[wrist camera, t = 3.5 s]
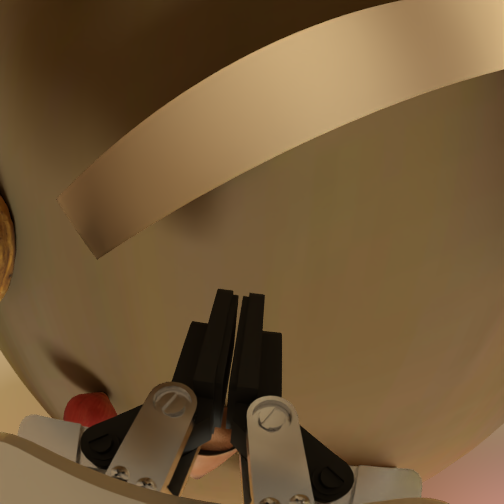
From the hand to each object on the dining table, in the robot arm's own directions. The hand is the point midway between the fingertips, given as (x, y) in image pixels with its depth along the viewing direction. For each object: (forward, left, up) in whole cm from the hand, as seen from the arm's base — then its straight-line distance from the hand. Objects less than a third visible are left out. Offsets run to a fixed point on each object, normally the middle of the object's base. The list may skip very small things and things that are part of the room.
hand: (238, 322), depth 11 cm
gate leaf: (-4, -10, -4) cm, 11 cm away
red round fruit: (+13, +19, -5) cm, 24 cm away
